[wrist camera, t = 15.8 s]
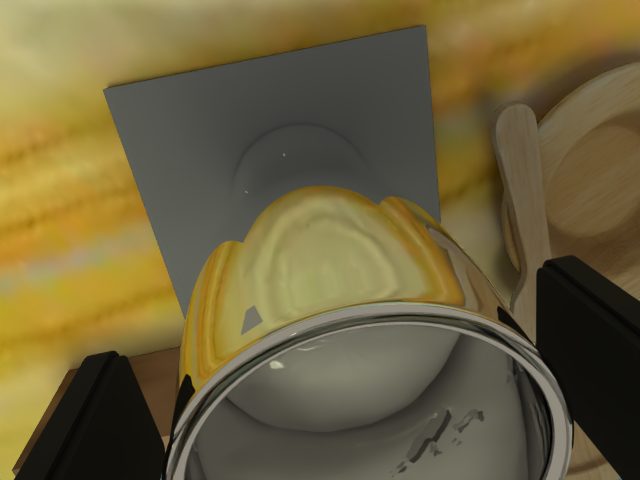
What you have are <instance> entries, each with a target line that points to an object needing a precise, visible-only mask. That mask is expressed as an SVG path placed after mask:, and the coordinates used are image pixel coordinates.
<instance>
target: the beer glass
mask: <svg viewBox="0 0 640 480" xmlns="http://www.w3.org/2000/svg"><path fill="white" fill-rule="evenodd" d="M232 197H233V206H234V210H233V211H232V212H231V214H230V215H229V216H228V218H227V219H226V221H225V222H224V224H223V225H222V227H221V228H220V230H219V232H218V234H217V235H216V237H215V239H214V241H213V242H212V244H211V246H210V248H209V250H208V252H207V253H206V256H205V258H204V260H203V263H202V265H201V268H200V271H199V274H198V277H197V280H196V283H195V286H194V289H193V292H192V295H191V299H190V302H189V307H188V312H187V316H186V321H185V326H184V331H183V336H182V341H181V346H180V353H179V361H178V368H177V376H176V383H175V392H174V402H173V412H172V422H171V430H170V438H169V443H168V446H167V449H166V453H165V457H164V461H163V468H162V480H564V479H565V476H566V474H567V471H568V468H569V465H570V461H571V456H572V452H573V445H574V417H573V411H572V406H571V402H570V399H569V396H568V393H567V390H566V388H565V386H564V384H563V382H562V380H561V378H560V376H559V374H558V373H557V371H556V370H555V368H554V367H553V365H552V364H551V363H550V361H549V360H548V359H547V358H546V357H545V356H544V354H543V353H542V352H541V351H540V350H539V349H538V348H536V347H535V345H534V344H533V343H532V341H531V340H530V339H529V337H528V336H527V334H526V333H525V332H524V330H523V329H522V327H521V326H520V324H519V323H518V321H517V320H516V318H515V317H514V316H513V314H512V313H511V311H510V310H509V308H508V307H507V305H506V304H505V302H504V301H503V300H502V298H501V297H500V295H499V294H498V293H497V291H496V290H495V289H494V287H493V286H492V284H491V283H490V282H489V280H488V279H487V278H486V276H485V275H484V274H483V272H482V271H481V269H480V268H479V267H478V266H477V264H476V263H475V262H474V261H473V260H472V258H471V257H470V256H469V255H468V254H467V253H466V251H465V250H464V249H463V248H462V247H461V245H460V244H459V243H458V242H457V241H456V240H455V238H454V237H453V236H452V235H451V234H450V233H449V232H448V231H447V230H446V229H445V228H444V227H443V226H442V225H441V224H440V223H439V222H438V221H436V220H435V219H434V218H433V217H432V216H431V215H430V214H429V213H428V212H427V211H426V210H425V209H424V208H422V207H421V206H420V205H419V204H418V203H416V202H415V201H414V200H412V199H411V198H409V197H407V196H406V195H404V194H403V193H401V192H399V191H398V190H396V189H395V188H393V187H391V186H390V185H388V184H386V183H385V182H383V181H381V180H379V179H377V178H374V177H372V176H370V175H369V174H368V171H367V168H366V166H365V163H364V161H363V159H362V158H361V156H360V154H359V153H358V152H357V150H356V149H355V148H354V147H353V145H352V144H351V143H350V142H348V141H347V140H346V139H345V138H344V137H342V136H341V135H339V134H337V133H336V132H334V131H332V130H329V129H327V128H324V127H320V126H316V125H309V124H295V125H288V126H284V127H281V128H278V129H275V130H273V131H271V132H269V133H267V134H265V135H264V136H262V137H261V138H259V139H258V140H257V141H256V142H255V143H253V144H252V145H251V146H250V148H249V149H248V150H247V151H246V152H245V154H244V155H243V157H242V158H241V160H240V162H239V164H238V166H237V168H236V171H235V175H234V180H233V188H232Z"/></svg>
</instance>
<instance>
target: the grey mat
mask: <svg viewBox="0 0 640 480" xmlns="http://www.w3.org/2000/svg"><path fill="white" fill-rule="evenodd" d="M103 92H104V95H105V97H106V100H107V103H108V106H109V109H110V111H111V114H112V117H113V120H114V123H115V125H116V128H117V131H118V134H119V137H120V139H121V142H122V145H123V148H124V150H125V153H126V156H127V159H128V162H129V164H130V167H131V170H132V173H133V176H134V178H135V181H136V184H137V187H138V190H139V192H140V195H141V198H142V201H143V203H144V206H145V209H146V212H147V215H148V217H149V220H150V223H151V226H152V229H153V231H154V234H155V237H156V240H157V243H158V245H159V248H160V251H161V254H162V256H163V259H164V262H165V265H166V268H167V270H168V273H169V276H170V279H171V282H172V284H173V287H174V290H175V293H176V296H177V298H178V301H179V304H180V307H181V309H182V312H183V315H184V318H185V321H186V316H187V312H188V307H189V302H190V299H191V295H192V292H193V289H194V286H195V283H196V280H197V277H198V274H199V271H200V268H201V265H202V263H203V260H204V258H205V256H206V253H207V252H208V250H209V248H210V246H211V244H212V242H213V241H214V239H215V237H216V235H217V234H218V232H219V230H220V228H221V227H222V225H223V224H224V222H225V221H226V219H227V218H228V216H229V215H230V214H231V212H232V211H233V210H234V206H233V197H232V188H233V180H234V175H235V171H236V168H237V166H238V164H239V162H240V160H241V158H242V157H243V155H244V154H245V152H246V151H247V150H248V149H249V148H250V146H251V145H252V144H253V143H255V142H256V141H257V140H258V139H259V138H261V137H262V136H264V135H265V134H267V133H269V132H271V131H273V130H275V129H278V128H281V127H284V126H288V125H295V124H309V125H316V126H320V127H324V128H327V129H329V130H332V131H334V132H336V133H337V134H339V135H341V136H342V137H344V138H345V139H346V140H347V141H348V142H350V143H351V144H352V145H353V147H354V148H355V149H356V150H357V152H358V153H359V154H360V156H361V158H362V159H363V161H364V163H365V166H366V168H367V171H368V174H369V175H370V176H372V177H374V178H377V179H379V180H381V181H383V182H385V183H386V184H388V185H390V186H391V187H393V188H395V189H396V190H398V191H399V192H401V193H403V194H404V195H406V196H407V197H409V198H411V199H412V200H414V201H415V202H416V203H418V204H419V205H420V206H421V207H422V208H424V209H425V210H426V211H427V212H428V213H429V214H430V215H431V216H432V217H433V218H434V219H435V220H436V221H438V222H439V223H440V224H441V218H440V204H439V191H438V178H437V165H436V152H435V139H434V126H433V113H432V100H431V87H430V74H429V61H428V48H427V35H426V25H423V26H416V27H411V28H406V29H401V30H396V31H391V32H386V33H381V34H376V35H371V36H366V37H361V38H356V39H351V40H346V41H341V42H336V43H331V44H326V45H321V46H316V47H311V48H306V49H301V50H296V51H291V52H286V53H281V54H276V55H271V56H266V57H261V58H256V59H251V60H246V61H240V62H235V63H230V64H225V65H220V66H215V67H210V68H205V69H200V70H195V71H190V72H185V73H180V74H175V75H170V76H165V77H160V78H155V79H150V80H145V81H140V82H135V83H130V84H125V85H120V86H115V87H110V88H106V89H103Z"/></svg>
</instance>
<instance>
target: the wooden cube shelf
mask: <svg viewBox="0 0 640 480" xmlns="http://www.w3.org/2000/svg"><path fill="white" fill-rule="evenodd" d="M179 353H180V347H177V348H173V349H168V350H163V351H159V352H154V353H149V354H145V355H140V356H136V357H131V358H128V360H129V362H130V365H131V367H132V369H133V372H134V374H135V376H136V379H137V381H138V383H139V386H140V388H141V391H142V393H143V395H144V398H145V400H146V402H147V405H148V407H149V409H150V412H151V414H152V417H153V419H154V421H155V424H156V426H157V428H158V431H159V433H160V435H161V438H162V440H163V443H164V446H165V453H166V449H167V446H168V443H169V438H170V430H171V422H172V412H173V402H174V392H175V383H176V376H177V368H178V361H179ZM77 371H78V369H76V370H71V371H68V372H67V374H66V376H65V378H64V379H63V381H62V383H61V385H60V386H59V388H58V390H57V392H56V393H55V395H54V397H53V399H52V401H51V402H50V404H49V406H48V408H47V409H46V411H45V413H44V415H43V416H42V418H41V420H40V422H39V423H38V425H37V427H36V429H35V431H34V432H33V434H32V436H31V438H30V439H29V441H28V443H27V445H26V446H25V448H24V450H23V452H22V453H21V455H20V457H19V459H18V460H17V462H16V464H15V466H14V468H13V469H12V471H13V473H14V474H15V476H16V475H17V474H18V472H19V470H20V468H21V467H22V465H23V463H24V462H25V460H26V458H27V456H28V455H29V453H30V451H31V450H32V448H33V446H34V444H35V443H36V441H37V439H38V438H39V436H40V434H41V432H42V431H43V429H44V427H45V426H46V424H47V422H48V421H49V419H50V417H51V415H52V414H53V412H54V410H55V409H56V407H57V405H58V403H59V402H60V400H61V398H62V397H63V395H64V393H65V391H66V390H67V388H68V386H69V385H70V383H71V381H72V379H73V378H74V376H75V374H76V373H77Z"/></svg>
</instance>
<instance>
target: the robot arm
mask: <svg viewBox="0 0 640 480" xmlns="http://www.w3.org/2000/svg"><path fill="white" fill-rule="evenodd" d="M536 348H538V349H539V350H540V351H541V352H542V353H543V354H544V356H545V357H546V358H547V359H548V360H549V361H550V363H551V364H552V365H553V367H554V368H555V370H556V371H557V373H558V374H559V376H560V378H561V380H562V382H563V384H564V386H565V388H566V390H567V393H568V396H569V399H570V402H571V406H572V411H573V417H574V420H575V422H576V423H577V424H578V425H579V427H580V428H581V429H582V430H583V432H584V433H585V434H586V435H587V437H588V438H589V439H590V440H591V442H592V443H593V444H594V445H595V447H596V448H597V449H598V450H599V451H600V453H601V454H602V455H603V456H604V458H605V459H606V460H607V461H608V463H609V464H610V465H611V466H612V468H613V469H614V470H615V471H616V473H617V474H618V475H619V476H620V478H621V479H622V480H640V301H639V300H637V299H636V298H634V297H633V296H631V295H630V294H629V293H627V292H626V291H624V290H623V289H622V288H620V287H619V286H617V285H616V284H614V283H613V282H612V281H610V280H609V279H607V278H606V277H604V276H603V275H602V274H600V273H599V272H597V271H596V270H594V269H593V268H592V267H590V266H589V265H587V264H586V263H584V262H583V261H582V260H580V259H579V258H577V257H576V256H574V255H568V256H563V257H558V258H553V259H549V260H546V261H545V262H544V263H543V267H542V268H539V269H538V270H537V273H536ZM164 457H165V446H164V443H163V440H162V438H161V435H160V433H159V431H158V428H157V426H156V424H155V421H154V419H153V417H152V414H151V412H150V409H149V407H148V405H147V402H146V400H145V398H144V395H143V393H142V391H141V388H140V386H139V383H138V381H137V379H136V376H135V374H134V372H133V369H132V367H131V365H130V362H129V360H128V358H127V357H126V356H124V355H122V356H119V354H118V353H117V352H116V351H109V352H105V353H100V354H95V355H90V356H87V357H86V358H85V359H84V361H83V362H82V364H81V366H80V367H79V369H78V371H77V373H76V374H75V376H74V378H73V379H72V381H71V383H70V385H69V386H68V388H67V390H66V391H65V393H64V395H63V397H62V398H61V400H60V402H59V403H58V405H57V407H56V409H55V410H54V412H53V414H52V415H51V417H50V419H49V421H48V422H47V424H46V426H45V427H44V429H43V431H42V432H41V434H40V436H39V438H38V439H37V441H36V443H35V444H34V446H33V448H32V450H31V451H30V453H29V455H28V456H27V458H26V460H25V462H24V463H23V465H22V467H21V468H20V470H19V472H18V474H17V475H16V477H15V479H14V480H160V478H161V474H162V468H163V461H164Z"/></svg>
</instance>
